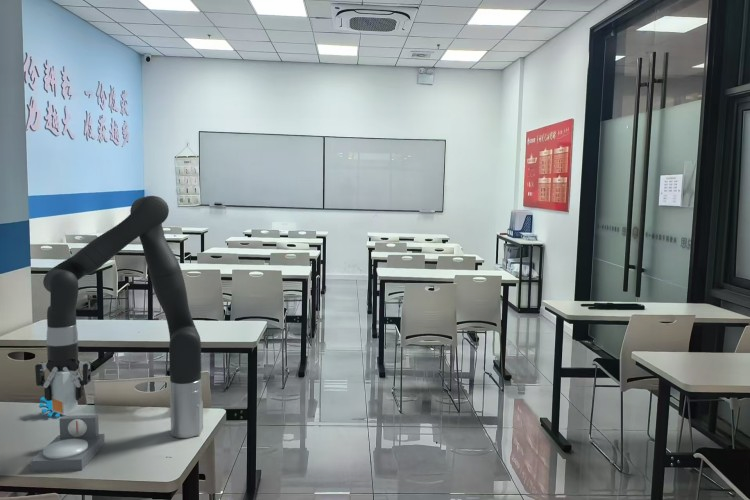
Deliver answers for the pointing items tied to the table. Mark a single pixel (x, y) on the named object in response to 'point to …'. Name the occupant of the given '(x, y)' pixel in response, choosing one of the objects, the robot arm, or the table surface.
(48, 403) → the gear
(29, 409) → the table surface
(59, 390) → the skincare box
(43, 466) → the dial scale
